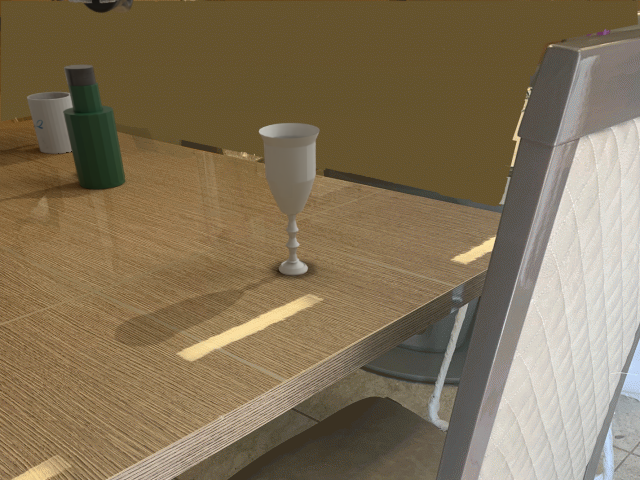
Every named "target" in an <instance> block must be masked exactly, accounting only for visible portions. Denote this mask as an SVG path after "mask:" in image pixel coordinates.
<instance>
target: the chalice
mask: <svg viewBox="0 0 640 480" xmlns="http://www.w3.org/2000/svg"><path fill="white" fill-rule="evenodd" d="M320 130H321V129H320V128H319V127H318V126H316V125H312V124H308V123H300V122H283V123H282V122H281V123H274V124H270V125H266V126H263V127H260V128H259V130H258V133H259V135H260V137H261V139H262V141H263V151H264V152H263V156H264V173H265V174H264V175H265V179H266V182H267V185H268V188H269V191H270V193H271V195H272V197H273V199H274V201H275V203H276V205H277V207H278V208H279V211H280V213H282V214H285V215H286V216H287V220H288V221H287V227H286V229H285V231H286V233H287V236H288V239H287V242H286V243H285V247H287V249H288V253H289V255H288V258H287V259H286V260H285V261H283V262H281V264H280V265H279V266H278V270H279V273H281V275H282V274H283V275H285V276H299V275H304V274H305V273H307V271H309V270H308V269H309V267H308V266H307V264H306V263H305V262H304V261H302V260H300V259H299V258H298V255H297V251H298V248H299V246H300V242H298V239H297V234H298V232H299V228H298V226H297V221H296V218H297V215H299V214H300V213H302V212H303V211H304V209H305V206H306V204H307V203H308V199H309V197H310V195H311V192H312V190H313V186H314V182H315V179H316V175H317V171H316V170H317V164H316V162H317V161H316V160H317V159H316V157H317V156H316V154H317V152H316V151H317V149H316V147H317V145H316V142H317V141H316V140H317V138H318V136H319V133H320V132H321V131H320Z"/></svg>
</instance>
